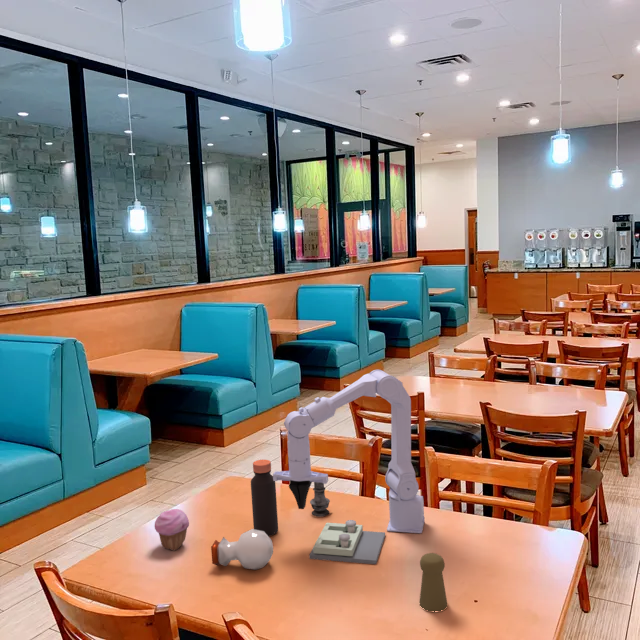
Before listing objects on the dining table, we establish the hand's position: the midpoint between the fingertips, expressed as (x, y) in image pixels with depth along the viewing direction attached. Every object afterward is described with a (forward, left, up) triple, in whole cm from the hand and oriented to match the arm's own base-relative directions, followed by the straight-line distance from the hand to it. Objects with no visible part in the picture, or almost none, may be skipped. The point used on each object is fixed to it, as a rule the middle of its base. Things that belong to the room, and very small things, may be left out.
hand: (302, 507), depth 163 cm
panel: (-10, 0, -9) cm, 13 cm away
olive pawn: (-36, +22, -10) cm, 43 cm away
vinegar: (+12, -5, -10) cm, 17 cm away
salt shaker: (0, -19, -10) cm, 21 cm away
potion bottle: (+11, +14, -10) cm, 21 cm away
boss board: (-12, 0, -10) cm, 16 cm away
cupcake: (+34, +7, -10) cm, 37 cm away
